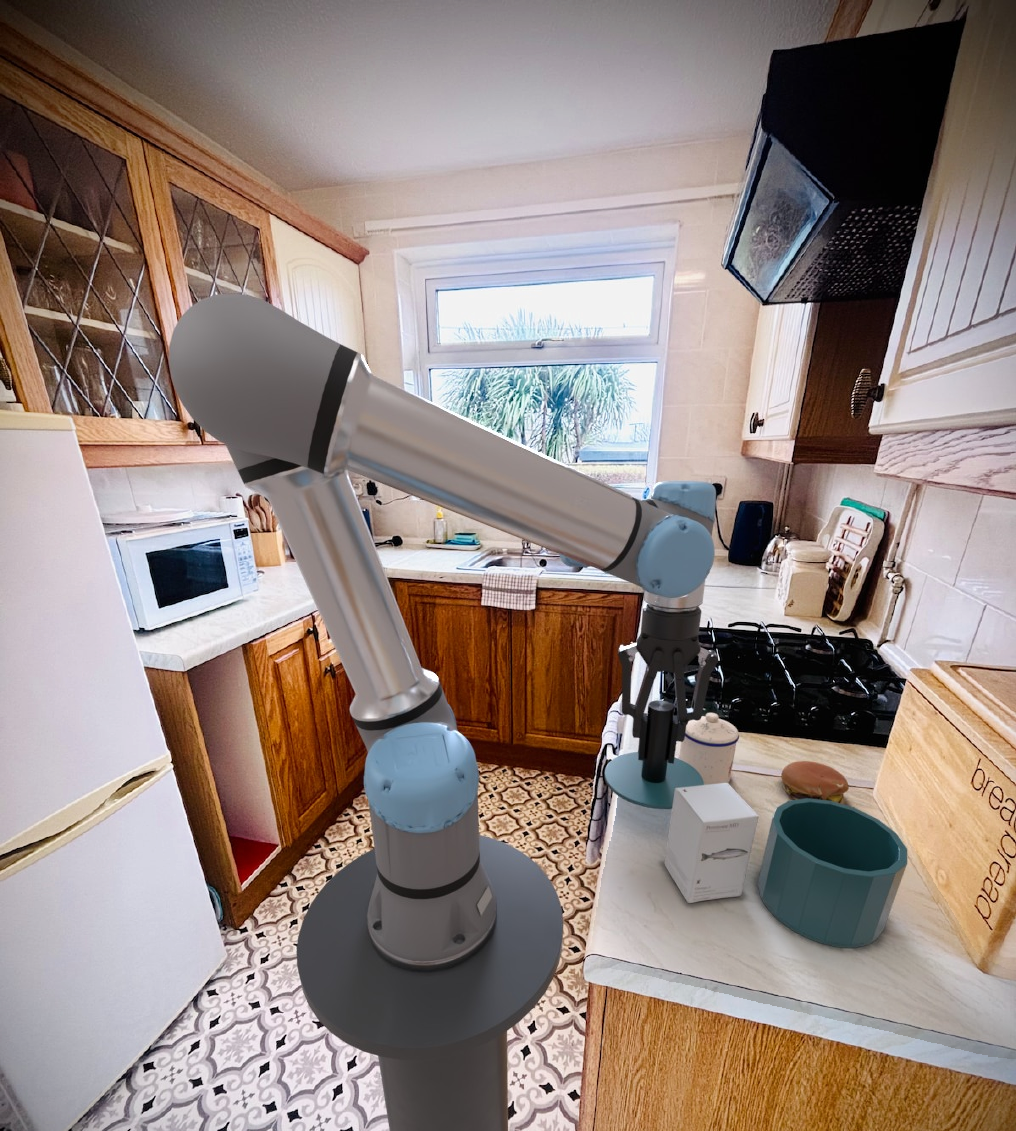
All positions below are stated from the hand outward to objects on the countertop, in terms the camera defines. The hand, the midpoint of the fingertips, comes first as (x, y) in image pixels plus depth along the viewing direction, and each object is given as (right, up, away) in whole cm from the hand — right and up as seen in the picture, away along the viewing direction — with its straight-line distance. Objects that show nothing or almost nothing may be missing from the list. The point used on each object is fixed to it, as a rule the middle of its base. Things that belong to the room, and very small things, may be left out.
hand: (655, 756), depth 81 cm
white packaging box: (+3, -15, -10) cm, 18 cm away
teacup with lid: (+11, -5, +14) cm, 18 cm away
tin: (+16, -16, -14) cm, 27 cm away
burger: (+27, -7, +7) cm, 29 cm away
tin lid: (0, -4, +2) cm, 4 cm away
